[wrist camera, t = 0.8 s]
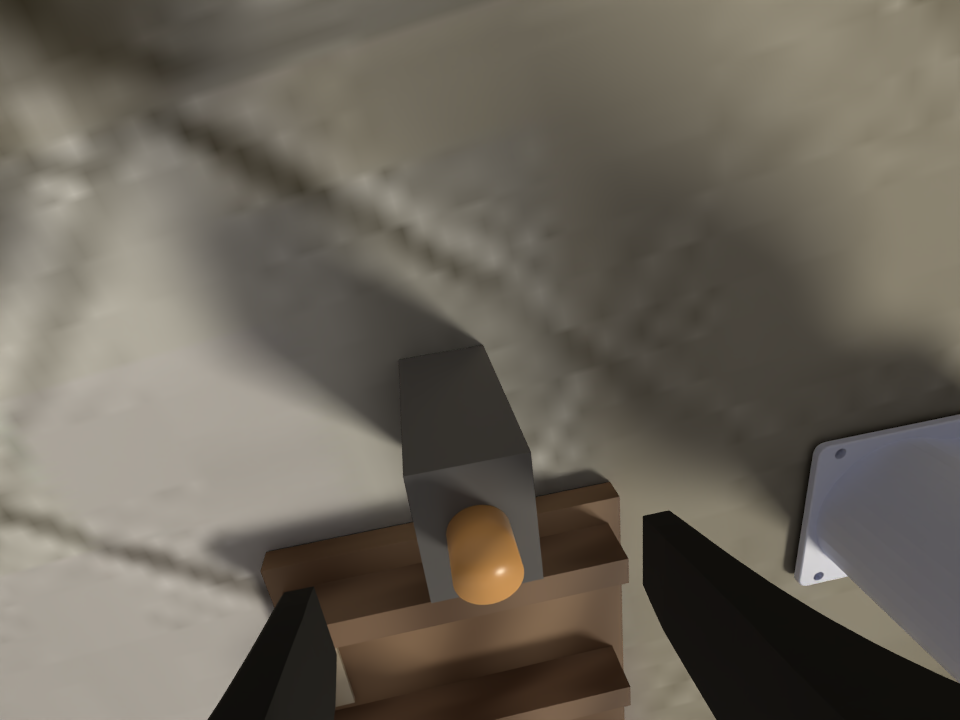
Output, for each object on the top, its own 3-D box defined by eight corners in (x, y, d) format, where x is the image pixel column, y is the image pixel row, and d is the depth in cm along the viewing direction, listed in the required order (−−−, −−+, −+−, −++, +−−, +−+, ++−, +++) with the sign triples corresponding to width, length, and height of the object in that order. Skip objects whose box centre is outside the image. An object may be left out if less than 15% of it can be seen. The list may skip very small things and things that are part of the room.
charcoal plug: (482, 345, 19) (547, 490, 11) (495, 440, 20) (560, 626, 13) (398, 359, 18) (404, 519, 11) (418, 455, 20) (435, 654, 12)
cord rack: (610, 481, 22) (641, 530, 19) (618, 748, 29) (641, 811, 26) (266, 552, 21) (247, 615, 18) (363, 812, 28) (361, 886, 25)
